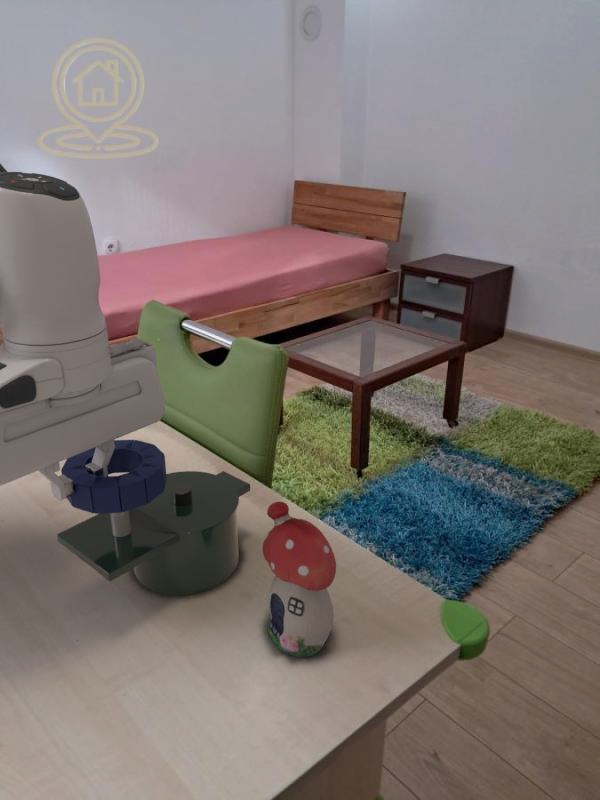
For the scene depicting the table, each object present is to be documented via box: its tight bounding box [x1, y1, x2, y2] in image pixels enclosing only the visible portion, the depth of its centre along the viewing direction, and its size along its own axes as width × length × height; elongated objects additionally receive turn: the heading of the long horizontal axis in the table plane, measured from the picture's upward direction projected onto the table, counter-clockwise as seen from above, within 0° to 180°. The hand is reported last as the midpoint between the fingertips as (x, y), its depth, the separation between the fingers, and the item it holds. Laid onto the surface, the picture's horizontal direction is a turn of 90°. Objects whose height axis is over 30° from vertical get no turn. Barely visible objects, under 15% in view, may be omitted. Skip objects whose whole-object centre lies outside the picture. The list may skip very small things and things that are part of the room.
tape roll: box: [60, 439, 167, 515], centre depth 67 cm, size 10×10×3 cm
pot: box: [56, 470, 251, 596], centre depth 75 cm, size 22×14×13 cm, turn 139°
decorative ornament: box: [262, 501, 337, 659], centre depth 66 cm, size 9×7×15 cm
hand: (81, 488), depth 64 cm, fingers closed on tape roll, 2 cm apart
